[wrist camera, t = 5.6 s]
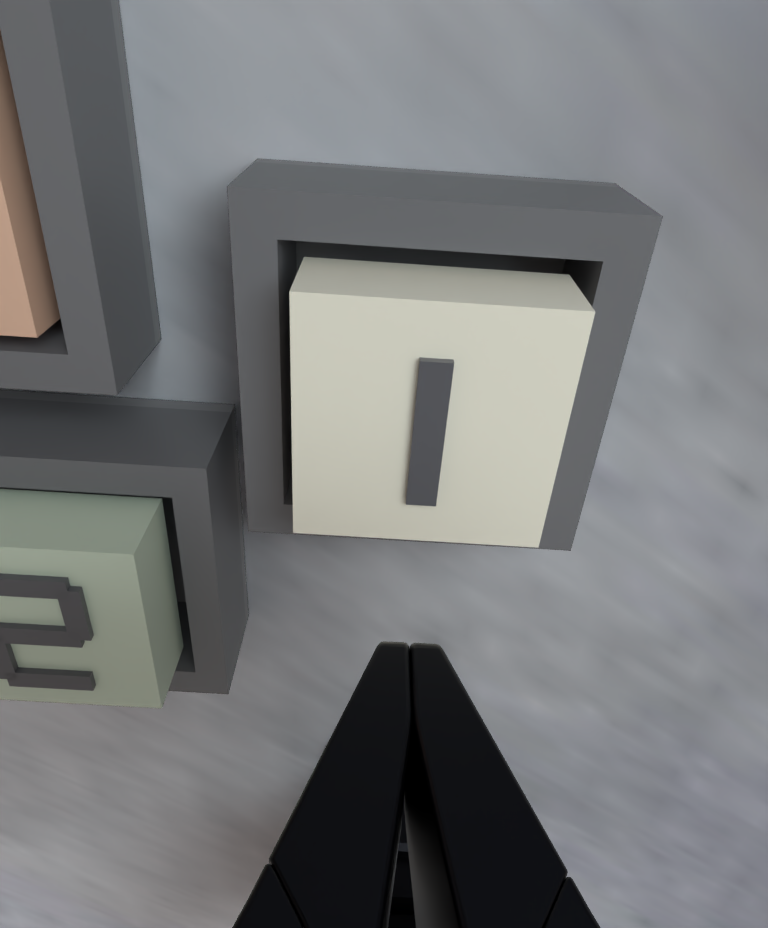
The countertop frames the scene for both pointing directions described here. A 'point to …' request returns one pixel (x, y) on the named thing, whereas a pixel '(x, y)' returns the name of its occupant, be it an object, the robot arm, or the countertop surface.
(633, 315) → the tile collars
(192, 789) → the countertop surface
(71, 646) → the tile
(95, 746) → the countertop surface
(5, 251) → the tile
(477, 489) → the tile
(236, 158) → the countertop surface
